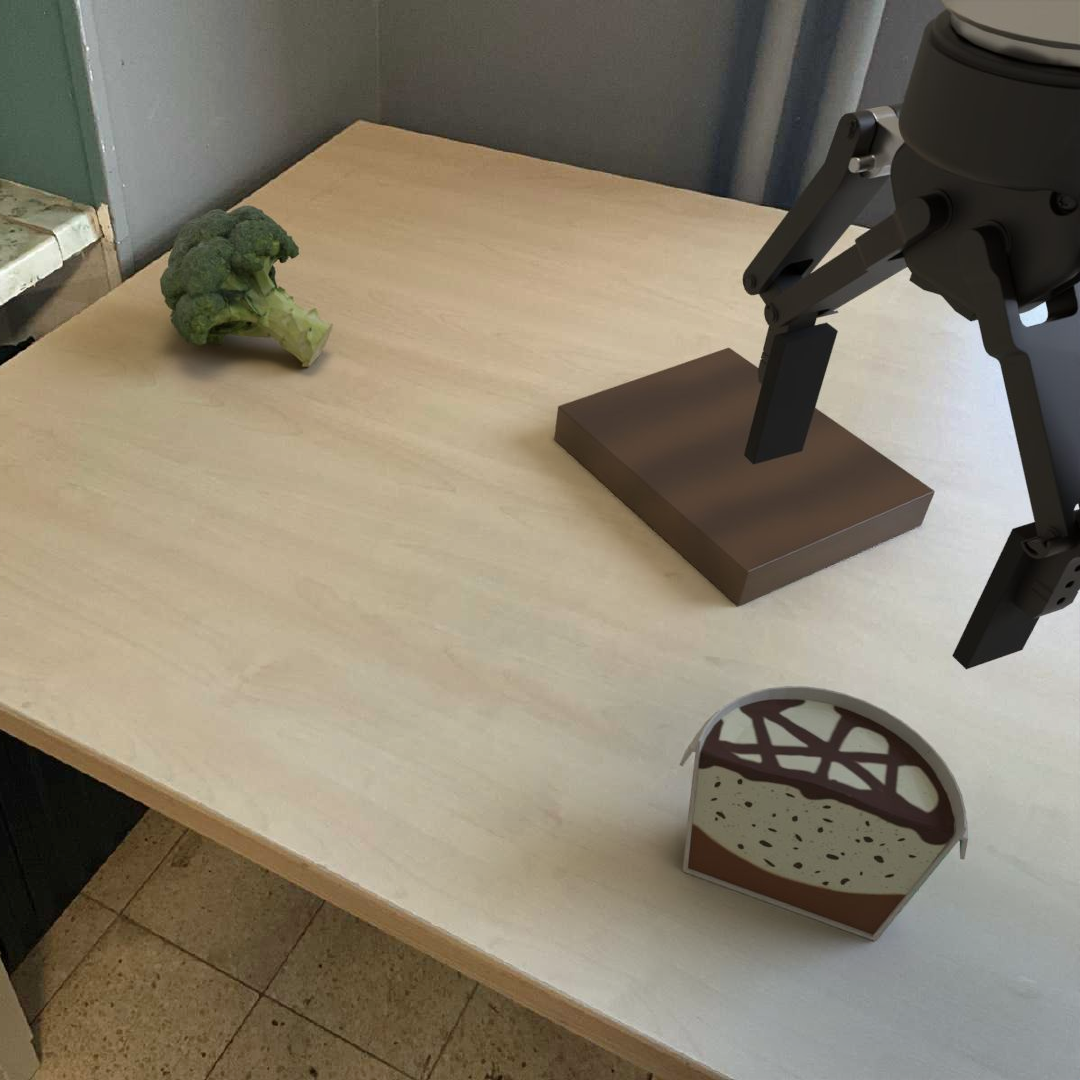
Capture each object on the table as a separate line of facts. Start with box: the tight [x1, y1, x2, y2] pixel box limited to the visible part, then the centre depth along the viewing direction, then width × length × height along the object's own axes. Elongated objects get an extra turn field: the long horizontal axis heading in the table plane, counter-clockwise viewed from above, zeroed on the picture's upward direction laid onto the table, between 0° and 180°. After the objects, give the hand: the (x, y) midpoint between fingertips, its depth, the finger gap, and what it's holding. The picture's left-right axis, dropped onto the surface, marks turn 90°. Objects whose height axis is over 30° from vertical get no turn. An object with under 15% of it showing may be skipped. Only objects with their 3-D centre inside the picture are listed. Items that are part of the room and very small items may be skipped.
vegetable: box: [159, 205, 334, 368], centre depth 93 cm, size 12×13×15 cm
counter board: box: [553, 347, 936, 607], centre depth 81 cm, size 20×16×3 cm
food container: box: [679, 685, 969, 942], centre depth 56 cm, size 12×6×10 cm, turn 65°
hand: (869, 544), depth 49 cm, fingers open, 13 cm apart
